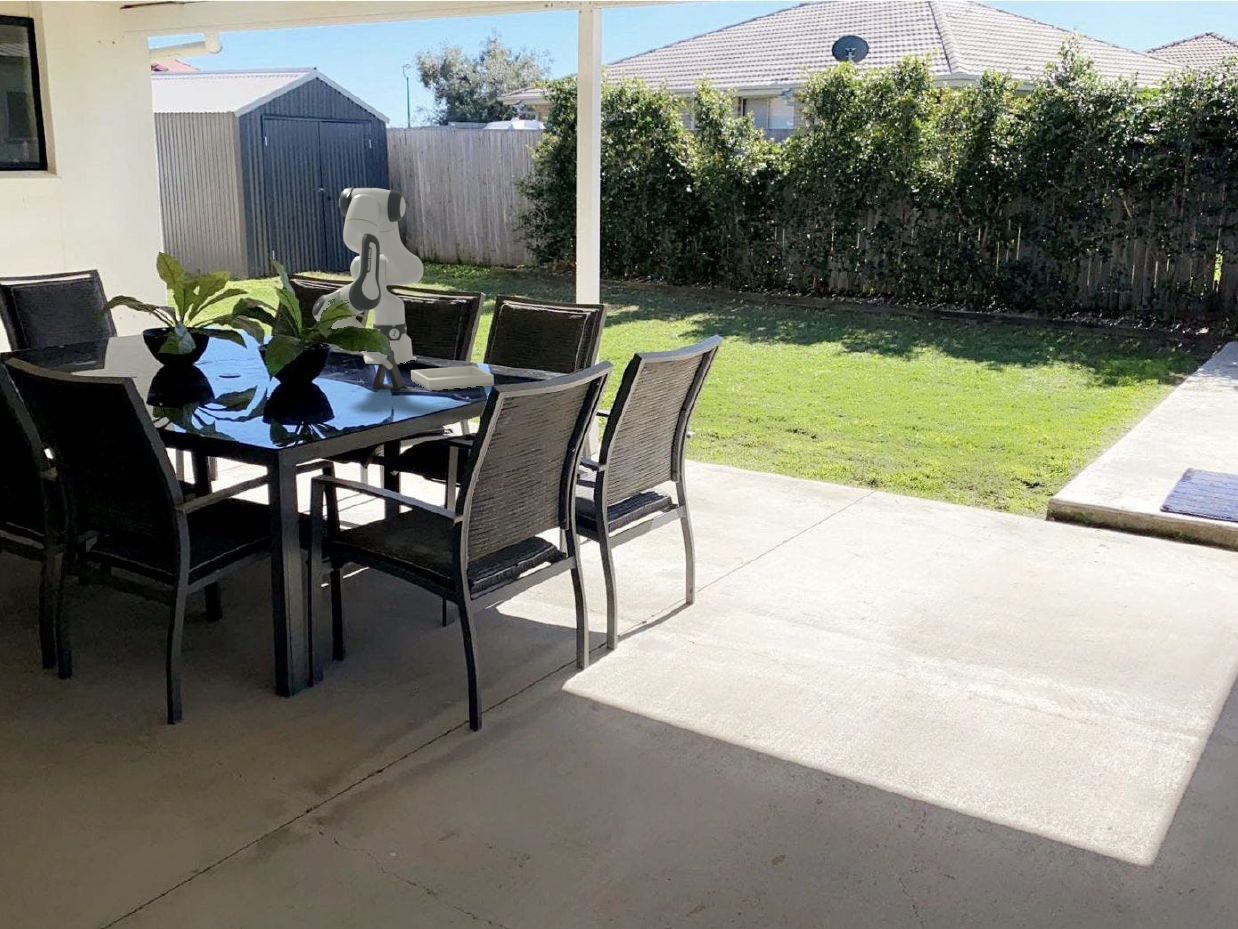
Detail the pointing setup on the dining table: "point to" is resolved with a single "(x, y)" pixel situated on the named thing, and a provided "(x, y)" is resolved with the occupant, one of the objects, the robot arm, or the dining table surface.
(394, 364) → the dark brown triangular stand
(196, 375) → the dining table surface
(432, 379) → the tray
